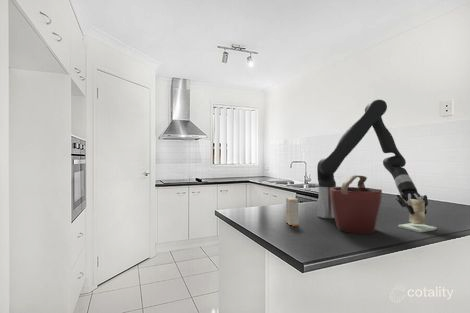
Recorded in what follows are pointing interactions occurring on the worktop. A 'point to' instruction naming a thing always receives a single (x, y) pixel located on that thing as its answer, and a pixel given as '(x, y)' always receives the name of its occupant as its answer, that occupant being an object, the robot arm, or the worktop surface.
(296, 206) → the supplement box
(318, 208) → the robot arm
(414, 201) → the maple block
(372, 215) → the bucket
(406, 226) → the sage board
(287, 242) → the worktop surface
